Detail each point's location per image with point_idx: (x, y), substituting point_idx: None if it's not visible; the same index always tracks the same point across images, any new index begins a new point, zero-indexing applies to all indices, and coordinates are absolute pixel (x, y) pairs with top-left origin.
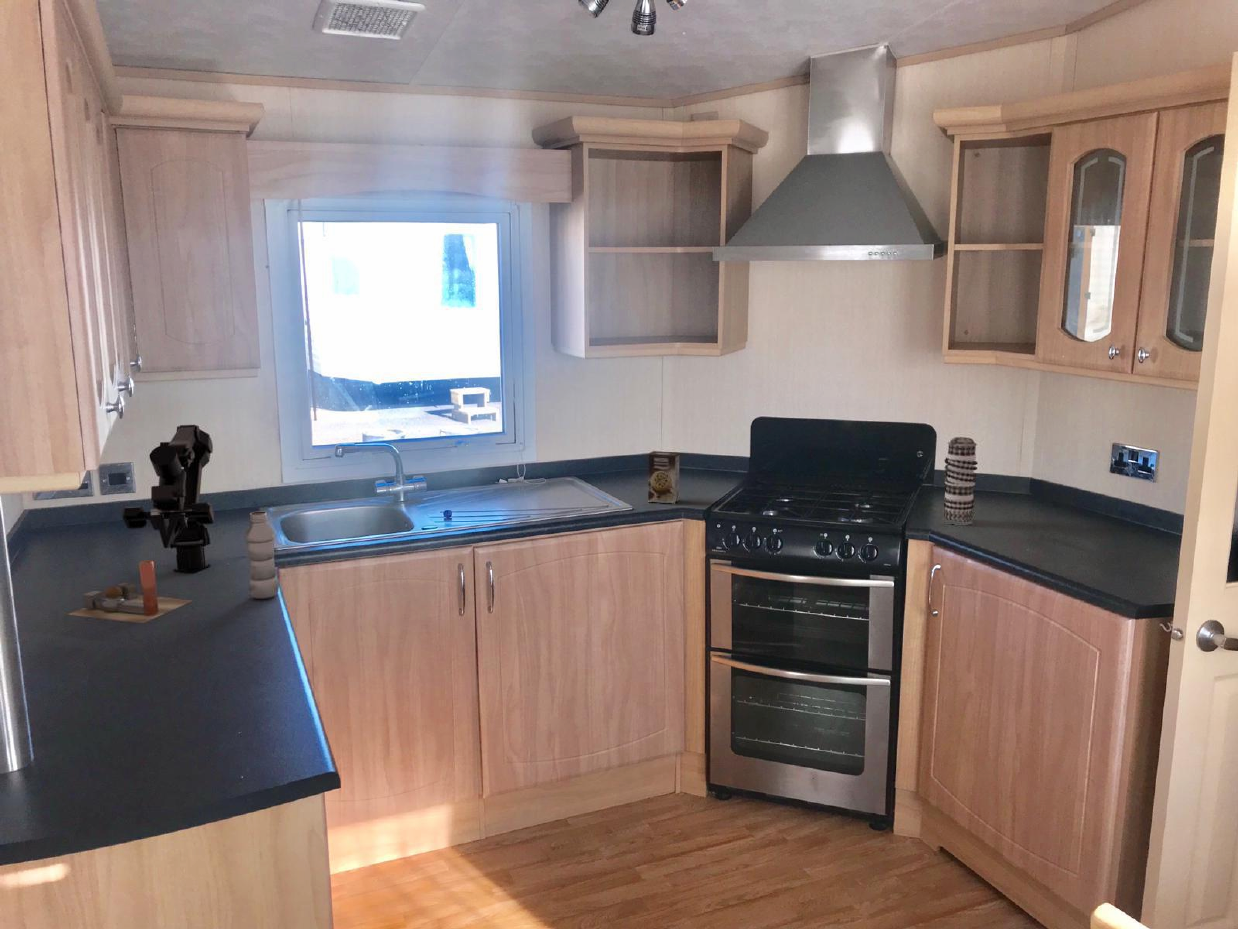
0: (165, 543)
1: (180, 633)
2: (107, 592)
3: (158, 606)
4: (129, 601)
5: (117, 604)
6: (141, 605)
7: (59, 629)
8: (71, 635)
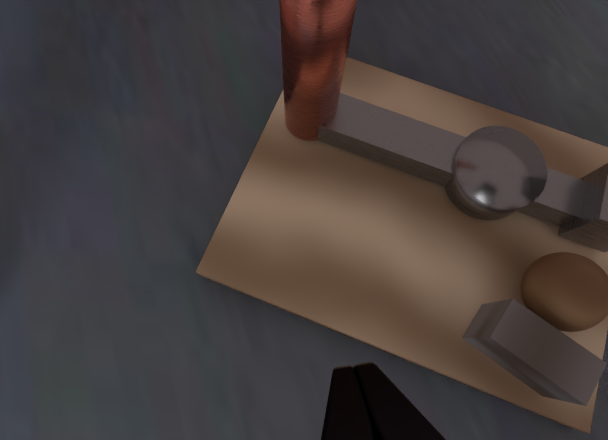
0: (360, 383)
1: (170, 7)
2: (586, 258)
3: (318, 208)
4: (426, 162)
5: (461, 136)
6: (350, 107)
7: (585, 79)
8: (510, 27)
